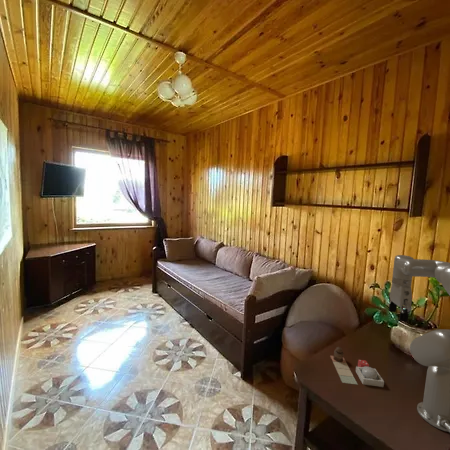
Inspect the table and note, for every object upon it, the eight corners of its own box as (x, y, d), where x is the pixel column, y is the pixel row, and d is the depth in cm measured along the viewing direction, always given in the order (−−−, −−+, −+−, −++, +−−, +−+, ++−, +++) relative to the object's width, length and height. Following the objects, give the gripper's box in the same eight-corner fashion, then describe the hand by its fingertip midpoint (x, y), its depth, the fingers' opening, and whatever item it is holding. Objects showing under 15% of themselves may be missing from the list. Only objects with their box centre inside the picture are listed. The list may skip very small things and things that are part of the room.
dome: (379, 384, 112) (379, 376, 112) (364, 382, 113) (365, 374, 112) (373, 375, 118) (373, 367, 117) (359, 373, 119) (360, 365, 118)
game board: (358, 386, 111) (358, 384, 111) (341, 384, 112) (341, 382, 112) (343, 358, 131) (343, 356, 131) (329, 356, 132) (329, 355, 132)
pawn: (344, 362, 126) (345, 350, 126) (334, 361, 127) (335, 349, 126) (341, 357, 131) (342, 345, 130) (332, 356, 131) (333, 344, 131)
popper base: (384, 388, 110) (385, 379, 110) (362, 385, 112) (363, 376, 111) (369, 366, 125) (370, 358, 125) (350, 364, 126) (351, 356, 126)
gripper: (422, 288, 109) (417, 325, 110) (400, 276, 126) (396, 309, 127) (403, 287, 110) (399, 324, 111) (384, 275, 127) (380, 307, 128)
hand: (397, 316), depth 119 cm, fingers open, 9 cm apart
